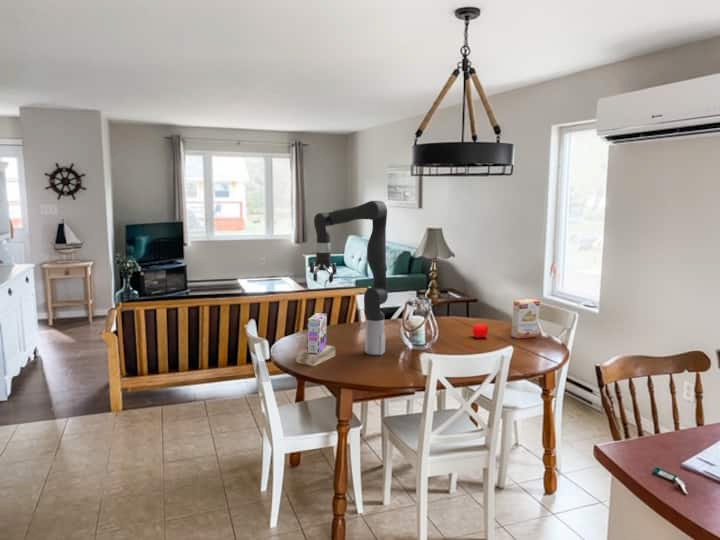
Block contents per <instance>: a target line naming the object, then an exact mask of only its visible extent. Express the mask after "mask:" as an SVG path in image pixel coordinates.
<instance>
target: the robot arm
mask: <svg viewBox="0 0 720 540" xmlns="http://www.w3.org/2000/svg"><path fill="white" fill-rule="evenodd" d="M387 217H388V207H387V205H386V204H385V202H384V201H382V200H369V201H367V202H364V203H362V204H360V205H357V206H354V207H353V206H352V207H348V208H347V207H346V208H343V209H341V208H340V209H336V210H332V211H330V212H318V213H316V215H314V220H313V224H314V229H315V233H316V244H315V245H316V247H315V260H316V261H310V265H309V266H310V267H309V273H310V274H313V278H312V279H313V281H314V282H318V272H320V271H324V272H327V273H328V275H329V276H328V283H329V284H331V283H332V282H333V281H334V276H335V275H336V274H337V263H336V262H331V256H332V255H331V253H332V252H331V232H330V231H328V230H327V228H326V227H330V226H335V225H340V224H346V223H350V222H352V221H356V220H371V221H372V227H371V228H372V229H371V233H370V237H369V240H368V242H367V246H366V260H367V264H368V266H369V268H370V271H371V273H372V277H373V279H372V280H373V284H372V285H373V287H369V288H367V289H366V290H365V291H364V294H363V296H364V297H363V307H364V309H363V311H364V315H365V341H364V342H365V344H364V345H365V347H364V348H365V350H364V351H365V354H367V355H369V356H370V355H371V356H378V355H379V356H382V355H383V354H384V353H385V352H386V333H385V312H382V311H381V305H383V304H385V303H387V300H388V298H389V297H388V296H389V293H388V292H389V291H388V283H387V282H388V281H387V265H386V263H387V261H386V260H387V248H386V246H387V245H386V242H387V241H386V240H387V239H386V235H387V234H386V232H387V231H386V230H387V219H388V218H387ZM315 266H316V268H315Z"/></svg>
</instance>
